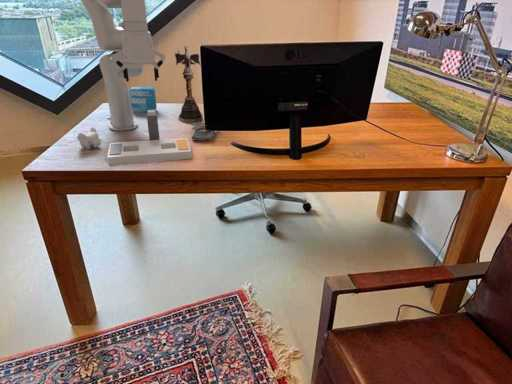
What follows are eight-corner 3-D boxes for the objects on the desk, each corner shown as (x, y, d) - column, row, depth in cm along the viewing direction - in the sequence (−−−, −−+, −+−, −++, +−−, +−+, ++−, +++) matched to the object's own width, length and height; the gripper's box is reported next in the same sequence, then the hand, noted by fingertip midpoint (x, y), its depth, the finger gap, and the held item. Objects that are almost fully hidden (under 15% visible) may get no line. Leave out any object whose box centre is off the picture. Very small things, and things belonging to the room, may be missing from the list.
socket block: (108, 165, 130) (107, 156, 129) (111, 150, 142) (109, 142, 140) (191, 158, 138) (191, 150, 136) (187, 144, 150) (187, 137, 148)
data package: (131, 112, 184) (128, 88, 178) (133, 109, 188) (130, 86, 182) (155, 112, 185) (153, 89, 179) (156, 110, 189) (154, 87, 183)
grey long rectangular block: (150, 144, 148) (146, 112, 142) (149, 140, 152) (146, 109, 145) (160, 143, 149) (156, 112, 143) (159, 140, 153) (156, 109, 146)
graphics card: (192, 122, 166) (217, 122, 165) (192, 129, 168) (218, 130, 167) (184, 135, 151) (212, 136, 151) (185, 143, 153) (213, 144, 153)
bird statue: (178, 112, 187) (172, 40, 169) (203, 112, 188) (200, 41, 170) (173, 122, 173) (167, 45, 155) (201, 123, 174) (198, 46, 156)
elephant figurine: (95, 152, 139) (92, 135, 136) (75, 149, 142) (71, 132, 138) (108, 145, 146) (105, 129, 142) (88, 142, 148) (84, 125, 145)
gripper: (106, 28, 112) (115, 83, 121) (163, 28, 117) (167, 82, 125) (108, 25, 118) (116, 78, 127) (162, 26, 123) (166, 77, 131)
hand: (142, 80), depth 126 cm, fingers open, 9 cm apart
